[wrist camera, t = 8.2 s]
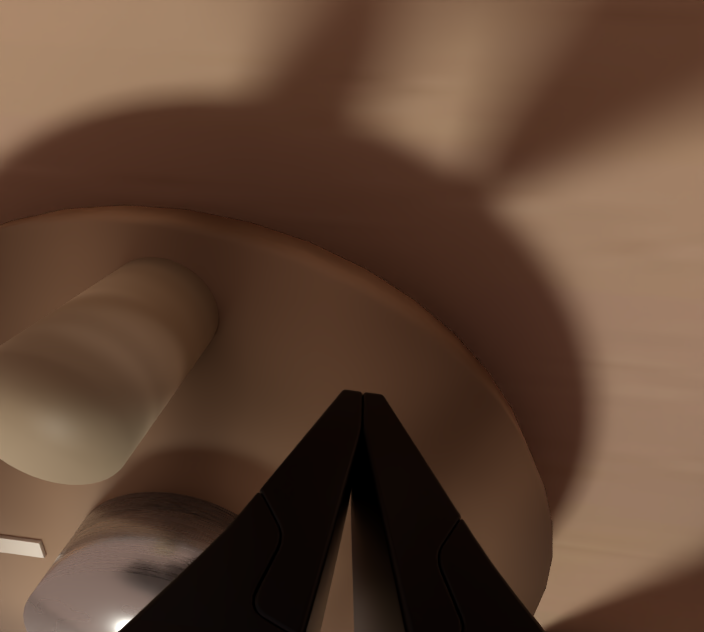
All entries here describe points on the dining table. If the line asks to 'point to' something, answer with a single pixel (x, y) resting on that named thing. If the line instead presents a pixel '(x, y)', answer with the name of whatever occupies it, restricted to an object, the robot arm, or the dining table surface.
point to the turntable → (225, 384)
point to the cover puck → (122, 561)
